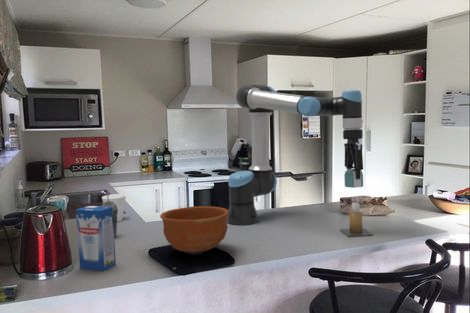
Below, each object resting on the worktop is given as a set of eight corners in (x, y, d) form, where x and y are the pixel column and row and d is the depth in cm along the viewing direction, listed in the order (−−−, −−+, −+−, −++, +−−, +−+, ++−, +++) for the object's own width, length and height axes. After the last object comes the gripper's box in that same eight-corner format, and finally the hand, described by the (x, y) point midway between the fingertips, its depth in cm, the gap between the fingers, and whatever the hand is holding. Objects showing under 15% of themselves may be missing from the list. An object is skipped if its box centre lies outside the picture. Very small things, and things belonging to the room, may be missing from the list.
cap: (348, 187, 160) (348, 172, 159) (342, 185, 167) (342, 171, 166) (365, 186, 160) (365, 172, 160) (358, 184, 167) (358, 170, 167)
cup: (130, 220, 201) (129, 196, 200) (107, 224, 194) (105, 199, 194) (123, 216, 211) (121, 193, 210) (100, 220, 204) (98, 196, 203)
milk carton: (79, 268, 135) (75, 209, 133) (92, 262, 140) (88, 205, 139) (104, 271, 131) (100, 210, 129) (116, 264, 137) (112, 206, 135)
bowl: (172, 269, 131) (169, 223, 130) (155, 248, 154) (153, 209, 152) (241, 256, 141) (239, 214, 139) (215, 239, 163) (214, 202, 162)
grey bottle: (103, 240, 166) (100, 193, 165) (100, 236, 173) (97, 190, 171) (121, 238, 170) (118, 191, 168) (117, 234, 176) (115, 189, 175)
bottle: (348, 237, 159) (347, 205, 158) (339, 230, 169) (339, 201, 168) (372, 235, 160) (372, 204, 159) (362, 229, 170) (362, 200, 169)
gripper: (371, 128, 152) (372, 188, 154) (352, 128, 172) (354, 182, 173) (352, 129, 152) (353, 189, 153) (335, 129, 171) (337, 182, 173)
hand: (353, 185), depth 163 cm, fingers closed on cap, 7 cm apart
